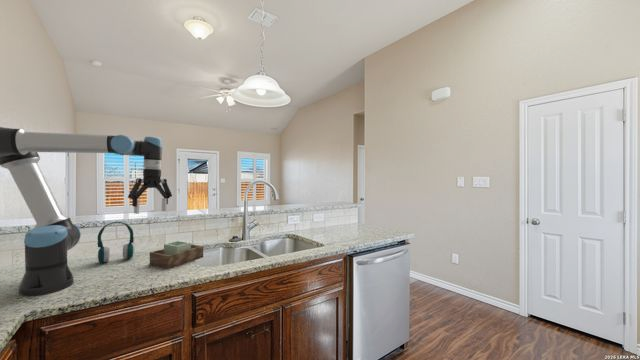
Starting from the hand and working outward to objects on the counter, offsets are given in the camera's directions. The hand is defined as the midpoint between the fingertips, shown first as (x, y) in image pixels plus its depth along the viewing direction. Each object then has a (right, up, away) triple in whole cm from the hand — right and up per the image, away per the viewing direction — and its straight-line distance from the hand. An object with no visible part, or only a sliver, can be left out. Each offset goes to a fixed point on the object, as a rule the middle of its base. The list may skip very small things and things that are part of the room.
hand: (150, 212), depth 134 cm
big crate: (+10, -26, +7) cm, 28 cm away
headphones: (-22, -26, +7) cm, 34 cm away
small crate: (+10, -25, +7) cm, 27 cm away
